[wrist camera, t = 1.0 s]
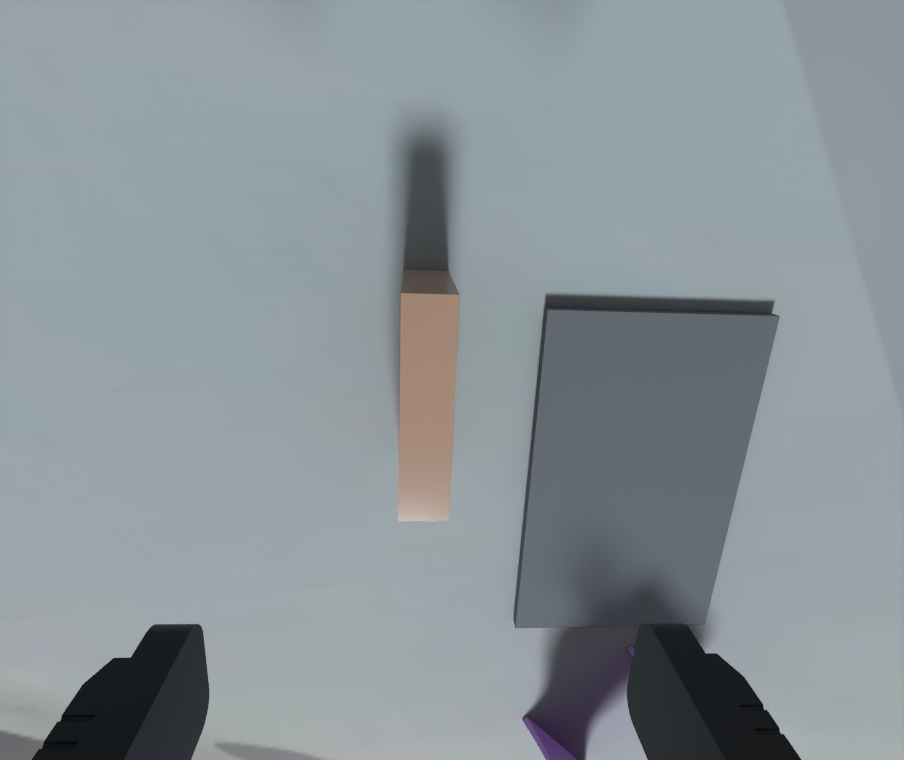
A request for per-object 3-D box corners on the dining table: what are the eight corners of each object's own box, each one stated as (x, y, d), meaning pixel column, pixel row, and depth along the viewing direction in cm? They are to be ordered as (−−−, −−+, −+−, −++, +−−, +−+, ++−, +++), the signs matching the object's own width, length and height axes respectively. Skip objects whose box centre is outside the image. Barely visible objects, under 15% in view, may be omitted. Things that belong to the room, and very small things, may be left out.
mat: (544, 307, 25) (547, 309, 24) (771, 313, 26) (779, 316, 25) (513, 620, 31) (515, 628, 30) (699, 616, 32) (704, 624, 31)
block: (403, 268, 24) (400, 293, 18) (448, 270, 24) (459, 294, 19) (400, 451, 27) (398, 521, 21) (441, 452, 27) (448, 521, 21)
